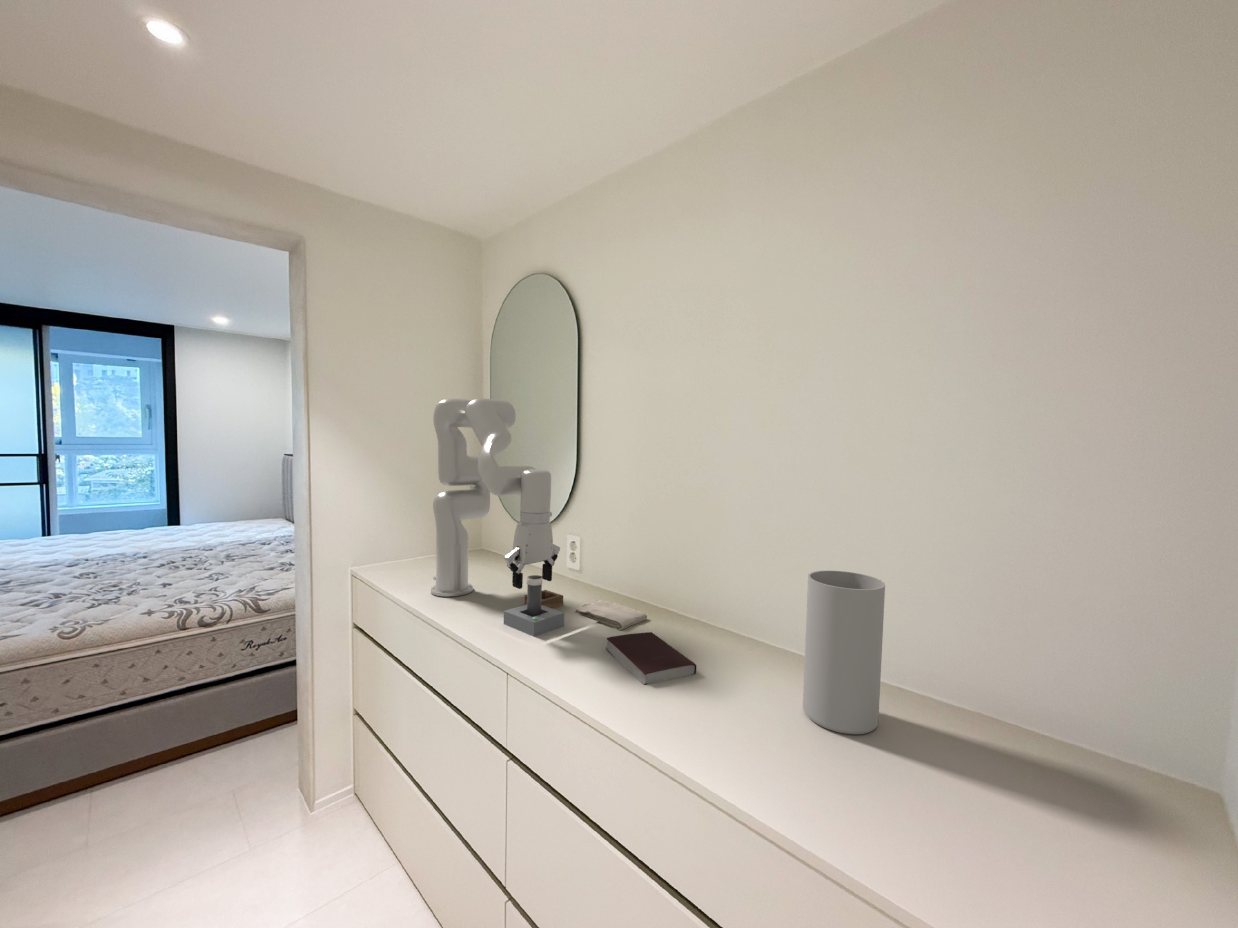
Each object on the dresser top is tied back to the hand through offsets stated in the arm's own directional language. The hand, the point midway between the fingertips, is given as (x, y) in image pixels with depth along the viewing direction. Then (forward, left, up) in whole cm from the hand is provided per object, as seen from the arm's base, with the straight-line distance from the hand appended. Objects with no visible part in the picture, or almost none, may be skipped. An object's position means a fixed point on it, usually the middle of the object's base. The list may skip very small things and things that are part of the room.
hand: (532, 583), depth 134 cm
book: (+35, +5, -12) cm, 37 cm away
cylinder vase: (+74, +10, -11) cm, 75 cm away
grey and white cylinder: (+1, 0, -10) cm, 10 cm away
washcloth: (+10, +19, -12) cm, 25 cm away
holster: (-9, +12, -11) cm, 19 cm away
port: (+1, 0, -11) cm, 11 cm away
